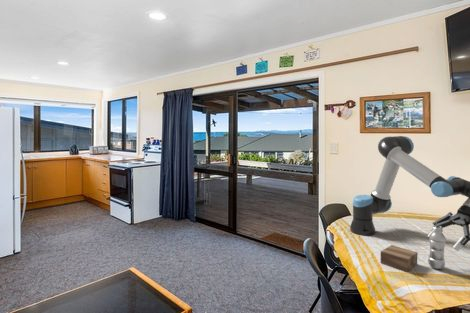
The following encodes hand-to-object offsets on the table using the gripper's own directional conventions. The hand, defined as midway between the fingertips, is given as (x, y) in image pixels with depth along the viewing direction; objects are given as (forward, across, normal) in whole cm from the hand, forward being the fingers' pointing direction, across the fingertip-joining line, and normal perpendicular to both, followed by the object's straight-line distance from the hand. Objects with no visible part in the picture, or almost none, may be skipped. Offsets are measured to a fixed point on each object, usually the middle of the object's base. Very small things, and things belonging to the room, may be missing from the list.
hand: (441, 243), depth 128 cm
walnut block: (+20, +8, +3) cm, 21 cm away
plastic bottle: (+10, +1, -8) cm, 13 cm away
